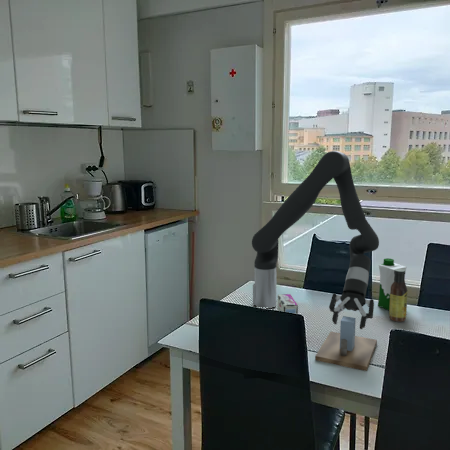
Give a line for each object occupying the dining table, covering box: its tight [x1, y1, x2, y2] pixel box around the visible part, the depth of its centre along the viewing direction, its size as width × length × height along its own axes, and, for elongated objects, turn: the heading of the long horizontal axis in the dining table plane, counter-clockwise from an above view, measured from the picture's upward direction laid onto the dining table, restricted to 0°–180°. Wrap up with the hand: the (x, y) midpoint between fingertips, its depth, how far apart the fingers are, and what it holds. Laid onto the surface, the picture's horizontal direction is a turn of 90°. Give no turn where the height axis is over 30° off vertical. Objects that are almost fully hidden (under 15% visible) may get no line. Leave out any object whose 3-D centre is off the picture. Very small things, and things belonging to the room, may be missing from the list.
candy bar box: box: [276, 293, 299, 314], centre depth 152 cm, size 11×5×16 cm, turn 5°
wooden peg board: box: [314, 331, 378, 372], centre depth 146 cm, size 16×20×6 cm
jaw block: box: [339, 315, 357, 351], centre depth 146 cm, size 4×4×10 cm
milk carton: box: [377, 258, 407, 311], centre depth 182 cm, size 9×9×20 cm
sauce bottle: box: [388, 269, 409, 323], centre depth 170 cm, size 7×6×20 cm
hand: (347, 325), depth 147 cm, fingers open, 8 cm apart
